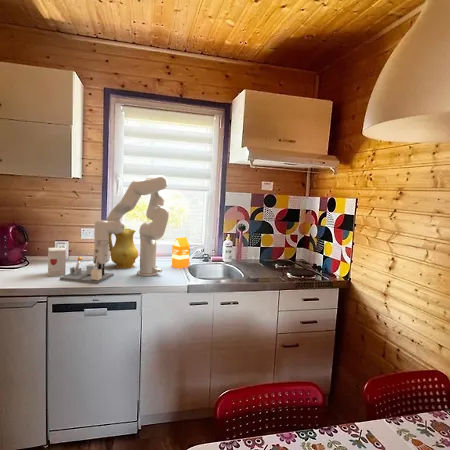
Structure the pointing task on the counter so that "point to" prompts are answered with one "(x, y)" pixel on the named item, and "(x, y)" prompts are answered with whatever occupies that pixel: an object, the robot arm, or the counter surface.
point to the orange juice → (180, 253)
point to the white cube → (90, 268)
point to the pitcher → (123, 249)
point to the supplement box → (56, 261)
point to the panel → (84, 276)
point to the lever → (77, 264)
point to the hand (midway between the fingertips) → (100, 275)
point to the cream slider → (96, 274)
